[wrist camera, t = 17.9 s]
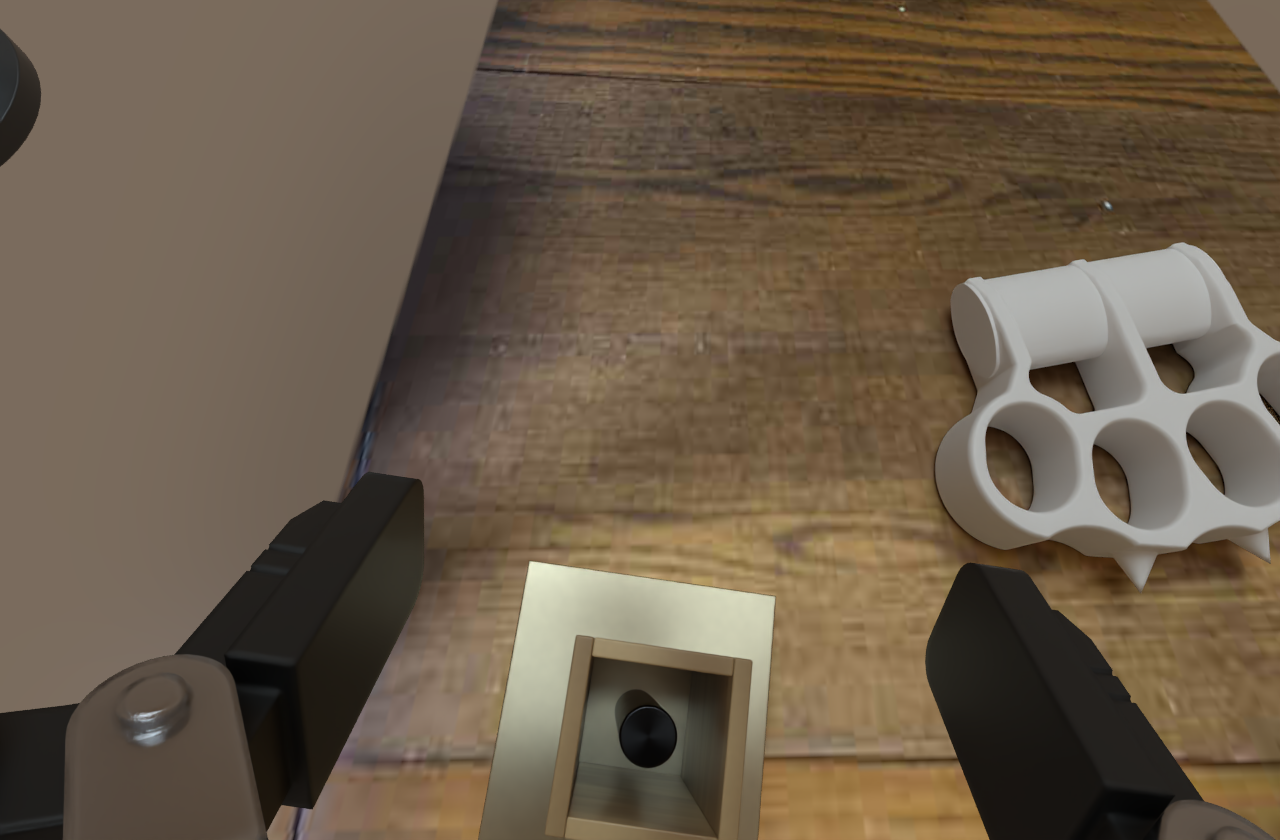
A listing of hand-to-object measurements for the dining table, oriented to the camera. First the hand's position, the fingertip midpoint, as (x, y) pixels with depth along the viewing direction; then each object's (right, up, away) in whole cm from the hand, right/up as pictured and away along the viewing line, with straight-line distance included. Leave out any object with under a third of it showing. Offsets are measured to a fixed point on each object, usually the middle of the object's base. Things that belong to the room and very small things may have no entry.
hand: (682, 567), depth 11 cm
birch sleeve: (-1, -9, +16) cm, 18 cm away
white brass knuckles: (+21, +2, +22) cm, 31 cm away
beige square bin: (-1, -9, +17) cm, 20 cm away
